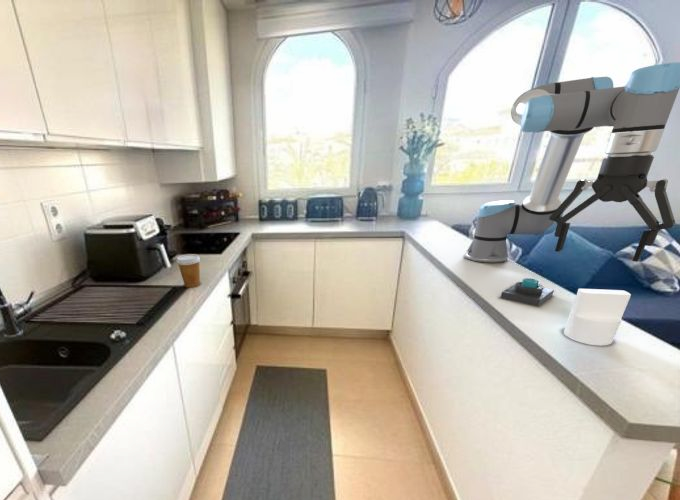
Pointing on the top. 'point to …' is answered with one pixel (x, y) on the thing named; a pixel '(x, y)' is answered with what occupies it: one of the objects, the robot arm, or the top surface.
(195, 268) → the disposable coffee cup
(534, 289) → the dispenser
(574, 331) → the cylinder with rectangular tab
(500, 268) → the top surface
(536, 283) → the button
